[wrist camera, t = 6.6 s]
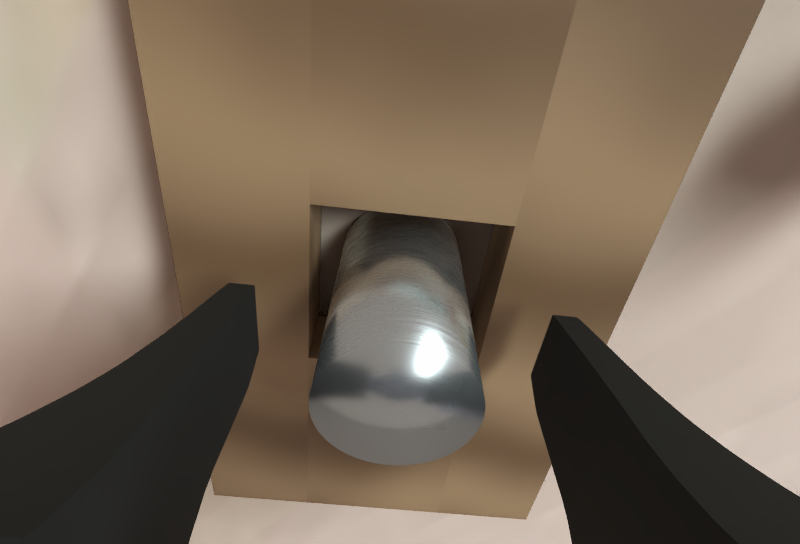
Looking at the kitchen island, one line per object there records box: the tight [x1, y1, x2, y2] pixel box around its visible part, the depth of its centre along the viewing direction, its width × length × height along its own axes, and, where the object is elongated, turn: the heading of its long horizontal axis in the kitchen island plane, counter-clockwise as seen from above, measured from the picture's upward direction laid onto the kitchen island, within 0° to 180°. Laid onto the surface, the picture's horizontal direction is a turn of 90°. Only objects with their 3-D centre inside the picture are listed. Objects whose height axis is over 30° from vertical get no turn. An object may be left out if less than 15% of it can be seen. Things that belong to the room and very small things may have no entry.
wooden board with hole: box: [128, 0, 765, 519], centre depth 14 cm, size 20×12×2 cm, turn 174°
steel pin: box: [308, 211, 486, 465], centre depth 12 cm, size 4×4×6 cm
